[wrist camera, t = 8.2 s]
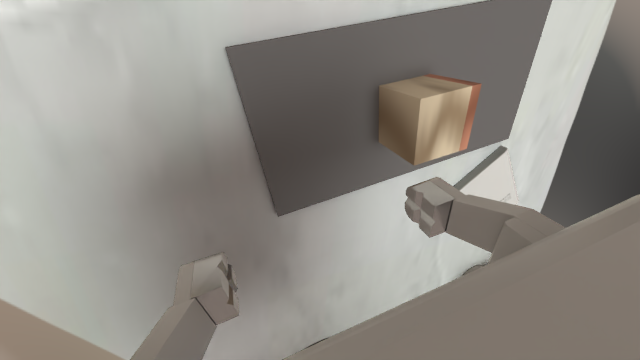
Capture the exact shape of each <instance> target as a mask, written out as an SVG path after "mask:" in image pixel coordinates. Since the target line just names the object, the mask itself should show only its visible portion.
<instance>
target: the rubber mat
mask: <svg viewBox="0 0 640 360" xmlns="http://www.w3.org/2000/svg"><path fill="white" fill-rule="evenodd" d="M551 2H552V0H490V1H485V2H479V3H473V4H468V5H462V6H457V7H451V8H445V9H440V10H434V11H428V12H423V13H417V14H411V15H406V16H400V17H394V18H389V19H383V20H378V21H372V22H366V23H361V24H355V25H349V26H344V27H338V28H332V29H327V30H321V31H315V32H310V33H304V34H298V35H293V36H287V37H282V38H276V39H270V40H265V41H259V42H253V43H248V44H242V45H236V46H231V47H225V48H226V51H227V54H228V57H229V61H230V64H231V67H232V70H233V73H234V77H235V80H236V83H237V86H238V90H239V93H240V96H241V99H242V102H243V106H244V109H245V112H246V115H247V119H248V122H249V125H250V128H251V131H252V135H253V138H254V141H255V144H256V148H257V151H258V154H259V157H260V160H261V164H262V167H263V170H264V173H265V176H266V180H267V183H268V186H269V189H270V193H271V196H272V199H273V202H274V205H275V209H276V212H277V215H278V216H281V215H284V214H287V213H290V212H293V211H296V210H299V209H302V208H305V207H308V206H311V205H314V204H317V203H320V202H323V201H326V200H329V199H332V198H335V197H338V196H340V195H343V194H346V193H349V192H352V191H355V190H358V189H361V188H364V187H367V186H370V185H373V184H376V183H379V182H382V181H385V180H388V179H391V178H394V177H397V176H399V175H402V174H405V173H408V172H411V171H414V170H417V169H420V168H423V167H426V166H429V165H432V164H435V163H438V162H441V161H444V160H447V159H450V158H453V157H456V156H458V155H461V154H464V153H467V152H470V151H473V150H476V149H479V148H482V147H485V146H488V145H491V144H494V143H497V142H500V141H503V140H506V139H508V138H509V135H510V132H511V129H512V126H513V123H514V119H515V116H516V113H517V110H518V107H519V104H520V100H521V97H522V94H523V91H524V88H525V85H526V81H527V78H528V75H529V72H530V69H531V66H532V62H533V59H534V56H535V53H536V50H537V47H538V43H539V40H540V37H541V34H542V31H543V28H544V25H545V21H546V18H547V15H548V12H549V9H550V6H551ZM428 74H433V75H439V76H444V77H449V78H455V79H460V80H465V81H471V82H476V83H481V84H482V85H481V89H480V93H479V98H478V102H477V107H476V111H475V115H474V120H473V124H472V128H471V133H470V137H469V141H468V146H467V149H464V150H461V151H458V152H455V153H452V154H449V155H446V156H443V157H440V158H437V159H433V160H430V161H427V162H424V163H421V164H418V165H415V166H414V165H412V164H411V163H409V162H408V161H406V160H405V159H403V158H402V157H400V156H399V155H397V154H396V153H394V152H393V151H391V150H390V149H388V148H387V147H385V146H384V145H382V144H381V143H379V86H380V85H384V84H389V83H393V82H398V81H402V80H406V79H411V78H415V77H420V76H424V75H428Z"/></svg>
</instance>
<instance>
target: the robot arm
mask: <svg viewBox="0 0 640 360" xmlns="http://www.w3.org/2000/svg"><path fill="white" fill-rule="evenodd" d="M406 196H407V197H408V198H407V200H406V201H405V211H406V214H407V215H408V217H409V218H410V219H411V220H412V221H413V222H416V223H419V228H420V229H421V230H422V231H423V232H424V233H425V234H426V235H427V236H428V237H429V238H430V237H433V236H435V235H438V234H441V233H443V232H446V233H448V234H450V235H453V236H455V237H457V238H459V239H462V240H464V241H466V242H468V243H471V244H473V245H475V246H478V247H480V248H482V249H484V250H487V251H489V252H491V253H492V254H491V257H490V259H489V264H488V265H485V266H483V267H481V268H479V269H477V270H475V271H472V272H470V273H468V274H466V275H464V276H462V277H459V278H457V279H455V280H453V281H451V282H449V283H446V284H444V285H442V286H440V287H438V288H436V289H433V290H431V291H429V292H427V293H425V294H423V295H420V296H418V297H416V298H414V299H412V300H410V301H407V302H405V303H403V304H401V305H399V306H397V307H395V308H392V309H390V310H388V311H386V312H384V313H382V314H379V315H377V316H375V317H373V318H371V319H369V320H366V321H364V322H362V323H360V324H358V325H356V326H353V327H351V328H349V329H347V330H345V331H343V332H340V333H338V334H336V335H334V336H332V337H330V338H328V339H325V340H323V341H321V342H319V343H317V344H315V345H312V346H310V347H308V348H306V349H304V350H302V351H299V352H297V353H295V354H293V355H291V356H289V357H287V358H284V359H282V360H640V195H637V196H634V197H632V198H630V199H628V200H626V201H624V202H621V203H620V204H617V205H615V206H613V207H611V208H608V209H606V210H604V211H602V212H600V213H598V214H596V215H593V216H591V217H589V218H587V219H585V220H583V221H581V222H578V223H576V224H574V225H572V226H570V227H568V228H565V227H563V226H561V225H560V224H558V223H556V222H554V221H552V220H550V219H549V218H547V217H546V216H544V215H542V214H541V213H539V212H537V211H535V210H534V209H530V208H526V207H522V206H517V205H513V204H509V203H505V202H500V201H496V200H492V199H487V198H483V197H479V196H474V195H470V194H468V195H465V194H463V193H462V192H460V191H459V190H457V189H456V188H454V187H453V186H451V185H450V184H448V183H447V182H445V181H444V180H442V179H441V178H438V177H435V178H432V179H429V180H427V181H424V182H421V183H419V184H416V185H413V186H410V187H408V188H407V189H406ZM237 289H238V288H237V280H236V275H235V272H234V270H233V268H232V266H231V265H229V264H228V261H227V256H226V255H225V253H224V252H221V253H218V254H215V255H212V256H208V257H205V258H202V259H199V260H196V261H194V262H191V263H188V264H185V265H181V267H180V269H179V273H178V279H177V285H176V291H175V297H174V303H173V306H172V307H169V308H168V309H167V311H166V312H165V313H164V315H163V316H162V317H161V319H160V320H159V321H158V323H157V324H156V325H155V327H154V328H153V329H152V331H151V332H150V334H149V335H148V336H147V338H146V339H145V340H144V342H143V343H142V344H141V346H140V347H139V348H138V350H137V351H136V352H135V354H134V355H133V356H132V358H131V359H130V360H202V358H203V356H204V354H205V351H206V349H207V347H208V345H209V342H210V340H211V338H212V336H213V334H214V331H215V329H216V325H218V324H220V323H223V322H225V321H227V320H229V319H232V318H234V317H236V316H239V301H238V297H237V296H236V294H235V292H236V290H237Z"/></svg>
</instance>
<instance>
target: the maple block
mask: <svg viewBox="0 0 640 360" xmlns="http://www.w3.org/2000/svg"><path fill="white" fill-rule="evenodd" d="M481 85H482V84H481V83H476V82H471V81H465V80H460V79H455V78H449V77H444V76H439V75H433V74H428V75H424V76H420V77H415V78H411V79H406V80H402V81H398V82H393V83H389V84H384V85H380V86H379V143H381V144H382V145H384V146H385V147H387V148H388V149H390V150H391V151H393V152H394V153H396V154H397V155H399V156H400V157H402V158H403V159H405V160H406V161H408V162H409V163H411V164H412V165H414V166H415V165H418V164H421V163H424V162H427V161H430V160H433V159H437V158H440V157H443V156H446V155H449V154H452V153H455V152H458V151H461V150H464V149H467V146H468V141H469V137H470V133H471V128H472V124H473V120H474V115H475V111H476V107H477V102H478V98H479V93H480V89H481Z"/></svg>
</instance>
